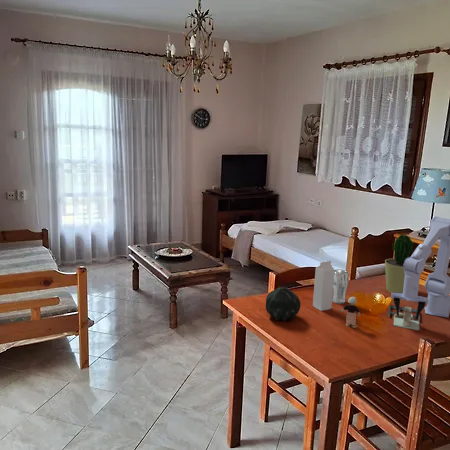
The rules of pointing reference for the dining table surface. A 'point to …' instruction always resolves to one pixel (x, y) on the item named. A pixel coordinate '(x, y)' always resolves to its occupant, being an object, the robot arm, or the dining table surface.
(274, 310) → the squash
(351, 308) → the grandmother figurine
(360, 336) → the dining table surface
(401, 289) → the potted cactus
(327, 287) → the milk
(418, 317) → the metal rack
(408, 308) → the tall beige block
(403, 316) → the offcut stack
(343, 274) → the beer glass
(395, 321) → the sage mat
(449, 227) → the robot arm
